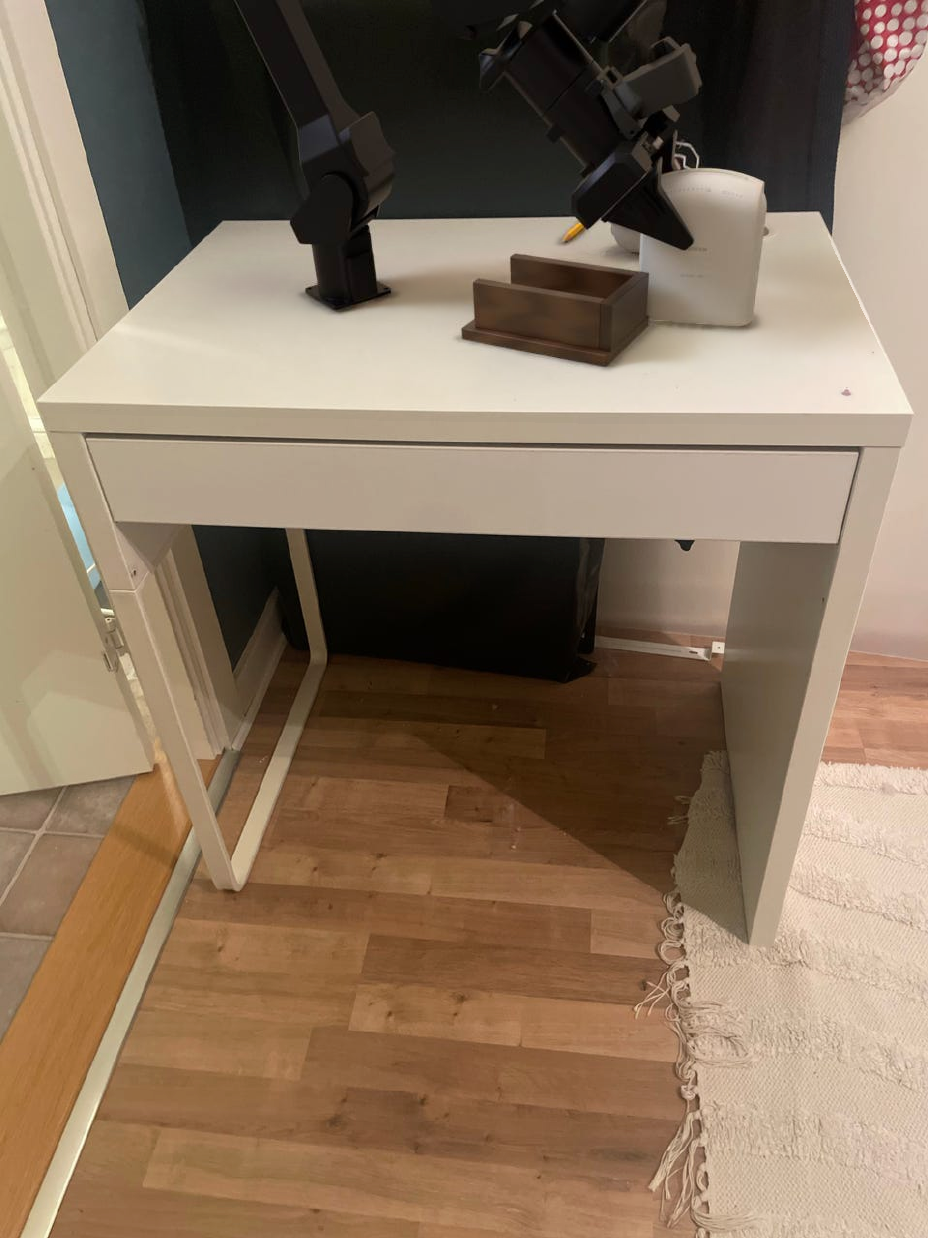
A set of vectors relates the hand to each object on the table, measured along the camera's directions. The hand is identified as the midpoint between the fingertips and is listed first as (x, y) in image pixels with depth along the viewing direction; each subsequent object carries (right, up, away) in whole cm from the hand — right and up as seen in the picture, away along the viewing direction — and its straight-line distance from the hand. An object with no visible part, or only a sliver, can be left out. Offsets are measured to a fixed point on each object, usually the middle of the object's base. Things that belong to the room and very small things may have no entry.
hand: (693, 236), depth 81 cm
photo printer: (+1, -6, +4) cm, 7 cm away
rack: (-11, -7, +4) cm, 14 cm away
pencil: (-7, +10, +24) cm, 27 cm away
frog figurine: (-2, +6, +18) cm, 19 cm away
